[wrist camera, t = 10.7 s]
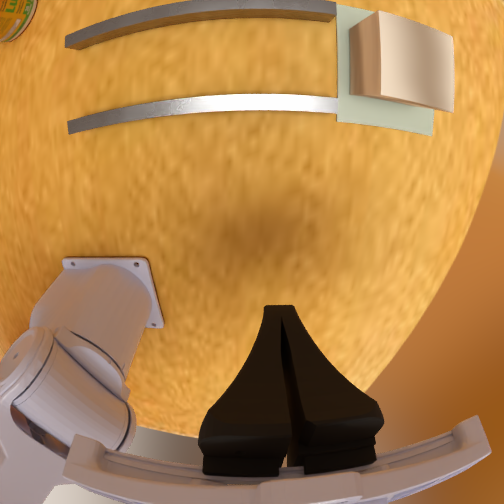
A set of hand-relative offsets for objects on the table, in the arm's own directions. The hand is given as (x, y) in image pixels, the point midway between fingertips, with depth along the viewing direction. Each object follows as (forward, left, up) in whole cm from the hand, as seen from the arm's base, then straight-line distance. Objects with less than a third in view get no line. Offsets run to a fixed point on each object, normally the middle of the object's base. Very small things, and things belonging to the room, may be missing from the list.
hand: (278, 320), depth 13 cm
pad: (+8, +13, -9) cm, 18 cm away
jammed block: (+8, +13, -9) cm, 18 cm away
